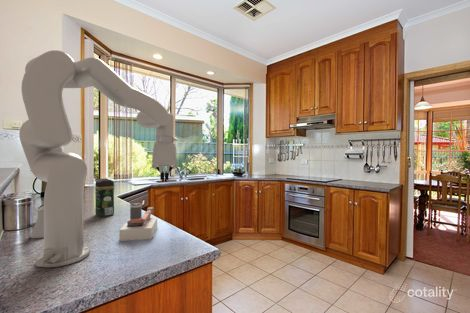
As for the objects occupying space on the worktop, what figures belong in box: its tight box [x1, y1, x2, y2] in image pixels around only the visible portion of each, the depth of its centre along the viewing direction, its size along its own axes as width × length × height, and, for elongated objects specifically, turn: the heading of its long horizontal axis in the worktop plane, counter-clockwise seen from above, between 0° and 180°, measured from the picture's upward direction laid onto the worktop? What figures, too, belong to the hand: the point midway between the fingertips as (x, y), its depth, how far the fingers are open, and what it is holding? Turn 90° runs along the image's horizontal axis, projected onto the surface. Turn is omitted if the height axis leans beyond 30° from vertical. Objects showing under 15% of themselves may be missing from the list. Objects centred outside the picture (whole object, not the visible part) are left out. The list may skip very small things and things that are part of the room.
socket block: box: [118, 216, 158, 242], centre depth 89 cm, size 14×11×6 cm
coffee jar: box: [94, 177, 115, 218], centre depth 116 cm, size 10×8×19 cm
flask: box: [29, 209, 44, 239], centre depth 86 cm, size 7×7×10 cm
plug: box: [126, 202, 144, 227], centre depth 88 cm, size 6×6×12 cm
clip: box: [130, 206, 154, 223], centre depth 93 cm, size 18×6×2 cm, turn 11°
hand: (164, 181), depth 102 cm, fingers closed
